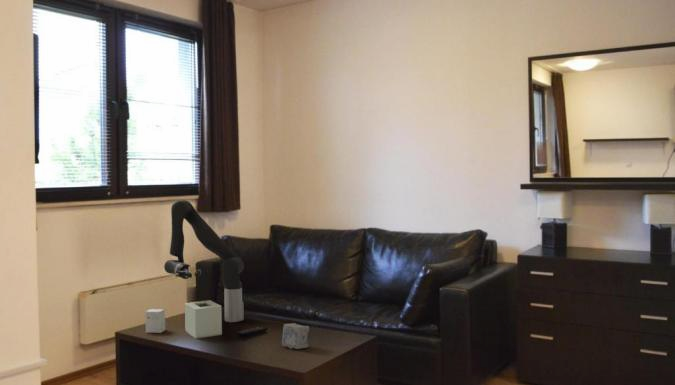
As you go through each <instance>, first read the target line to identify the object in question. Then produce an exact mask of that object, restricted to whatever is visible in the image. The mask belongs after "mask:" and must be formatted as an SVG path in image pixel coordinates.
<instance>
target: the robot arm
mask: <svg viewBox="0 0 675 385" xmlns="http://www.w3.org/2000/svg"><path fill="white" fill-rule="evenodd" d="M170 208H171V210H170V213H171V216H170V217H171V238H170V247H169V254H170V255H171V256H173V257H176V258H177V259H168V260H166V261H165V262H164V266H163V268H164V271H165V272H166V273H167V274H171V275H175V277H178V278H181V279H183V280H189V278H192V273H190V272H189V266H191V265H190V264H189V263H185V261H184V260H185V259H184V249H185V234H184V219H185V221H186V222H187V223H188V224H189V225H190V227H191V228H192V230H193V232H194V234H195V237H196V238H197V240H198V241H199V242H200V243H201V244H202V246H203V247H204V248H205V249H207V250H208V251H210V252H211V253H213V254H214V255H216V256H217V257H218V258H220V259H221V261H223V263H222V269H221V273H222V283H223V287H224V288H223V289H224V292H223V293H224V296H223V297H224V321H225V322H226V323H238V322H241V321H244V320H245V319H244V315H245V314H244V313H245V312H244V308H245V307H244V301H243V283H242V282H241V280H240V274H241V273H242V272H243V271H244V268H245V266H244V265H245V264H244V261H242V258H240V257H239V256H238V255H237V254H235V252H234V251H233V250H232V249H231V248H230V247H229V246H228V245H227V244H226V243H225V242H224V240H222V238H221V237H220V236H219V235H218V234H217V232H216V231H215V230H214V229H213V228H212V227H211V226H210V225H209V223H207V222H206V221H205V219H203V217H201V215H200V214H199V213H198V212H197V210H196V209H195V207H194V205H193V204H192V203H191V202H190V201H188V200H183V199H182V200H176V201H175V202H173V203H172V205H171V207H170ZM201 274H202V269H201V268H199V269H197V270H196V272H195V277H196V278H199V277H200V276H201Z"/></svg>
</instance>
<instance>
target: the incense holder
mask: <svg viewBox="0 0 675 385" xmlns="http://www.w3.org/2000/svg"><path fill="white" fill-rule="evenodd" d="M309 333H310V326H309V325H301V324H297V323H294V322H293V323H284V324H283V329H282V339H281V345H282V346H284V347H288V349H289V348H290V349H289V350H292V349H296V350H299V349H307V347H308V348H309V343H308V334H309Z"/></svg>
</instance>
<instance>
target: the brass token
mask: <svg viewBox="0 0 675 385" xmlns="http://www.w3.org/2000/svg"><path fill="white" fill-rule="evenodd" d="M196 271H197V270H196V266H195V265H190V266H189V272H190V273H192V278H188V287H189V288H195V287H196V286H197V283H196V282H197V281H196V280H197V279H196V278H197V277H195V272H196Z"/></svg>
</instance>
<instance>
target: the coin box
mask: <svg viewBox="0 0 675 385" xmlns="http://www.w3.org/2000/svg"><path fill="white" fill-rule="evenodd" d="M222 313H223V312H222V305H221V304H218V303H216V302H214V301H212V300H210V299H209V300H200V301H192V302H191V301H190V302H185V303H184V326H185V327H184V332H186V333H187V334H189V336H191V337H192V338H194V339H196V340H197V339H203V338H209V337H216V336H222V334H223V327H222V326H223V322H222V320H223V319H222V316H223V315H222Z"/></svg>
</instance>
